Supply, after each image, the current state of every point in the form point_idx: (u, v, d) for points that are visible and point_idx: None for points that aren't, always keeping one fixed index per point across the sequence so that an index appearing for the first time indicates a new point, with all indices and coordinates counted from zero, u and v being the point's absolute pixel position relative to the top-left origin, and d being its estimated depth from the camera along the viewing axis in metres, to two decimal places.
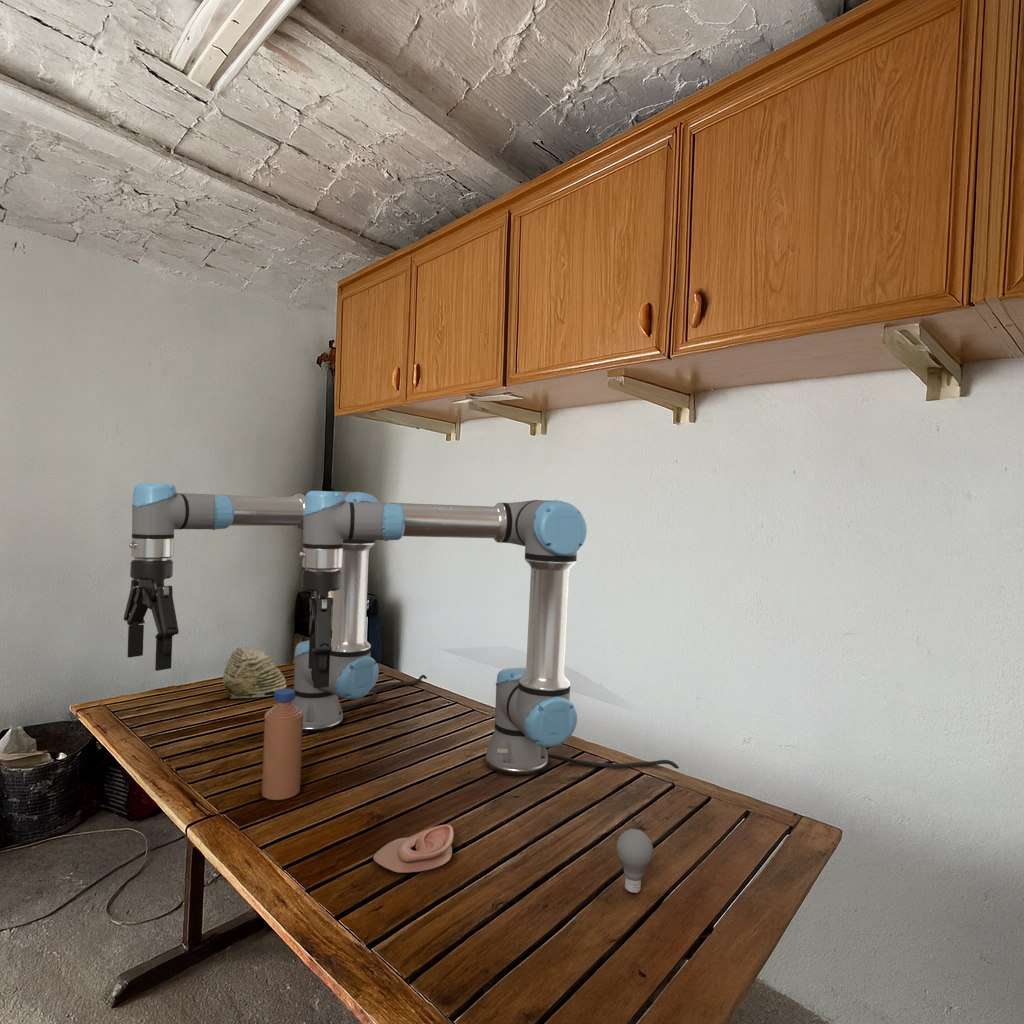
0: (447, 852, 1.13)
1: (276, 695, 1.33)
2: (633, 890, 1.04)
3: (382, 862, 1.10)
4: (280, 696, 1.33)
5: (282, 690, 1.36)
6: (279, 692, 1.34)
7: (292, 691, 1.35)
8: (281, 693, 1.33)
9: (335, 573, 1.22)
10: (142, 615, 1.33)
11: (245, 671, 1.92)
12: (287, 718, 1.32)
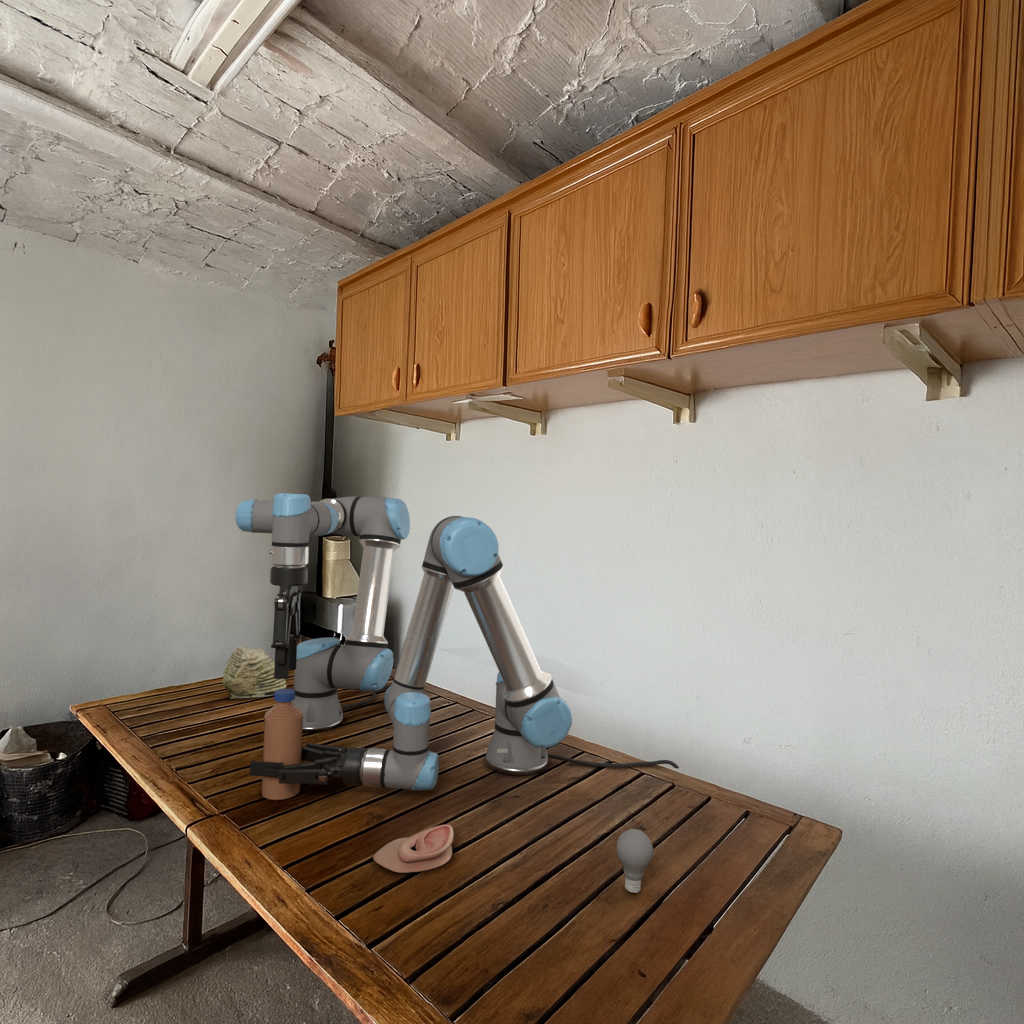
0: (447, 852, 1.13)
1: (276, 695, 1.33)
2: (633, 890, 1.04)
3: (382, 862, 1.10)
4: (280, 696, 1.33)
5: (282, 690, 1.36)
6: (279, 692, 1.34)
7: (292, 691, 1.35)
8: (281, 693, 1.33)
9: None
10: (293, 627, 1.38)
11: (245, 671, 1.92)
12: (287, 718, 1.32)
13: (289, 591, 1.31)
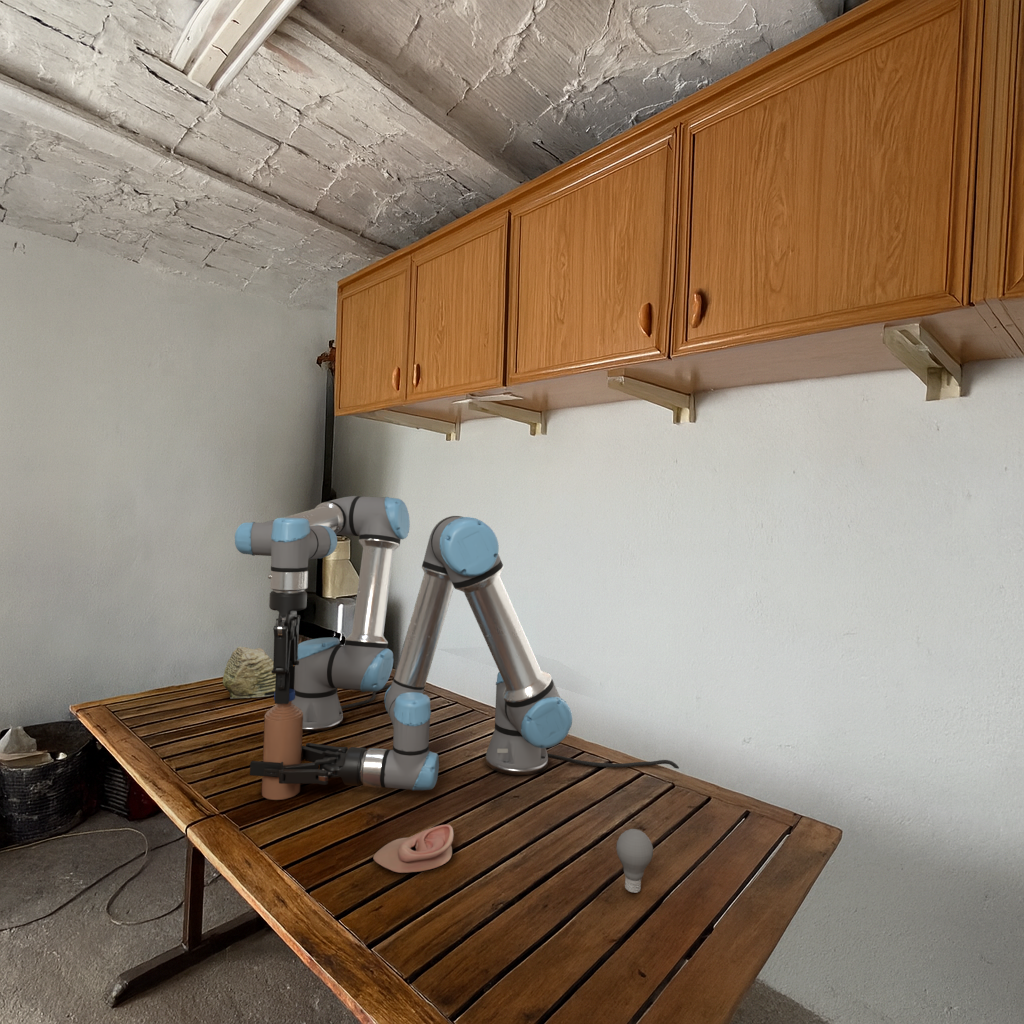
0: (447, 852, 1.13)
1: None
2: (633, 890, 1.04)
3: (382, 862, 1.10)
4: None
5: None
6: None
7: (292, 691, 1.35)
8: None
9: None
10: (292, 652, 1.37)
11: (245, 671, 1.92)
12: (287, 718, 1.32)
13: (288, 616, 1.31)
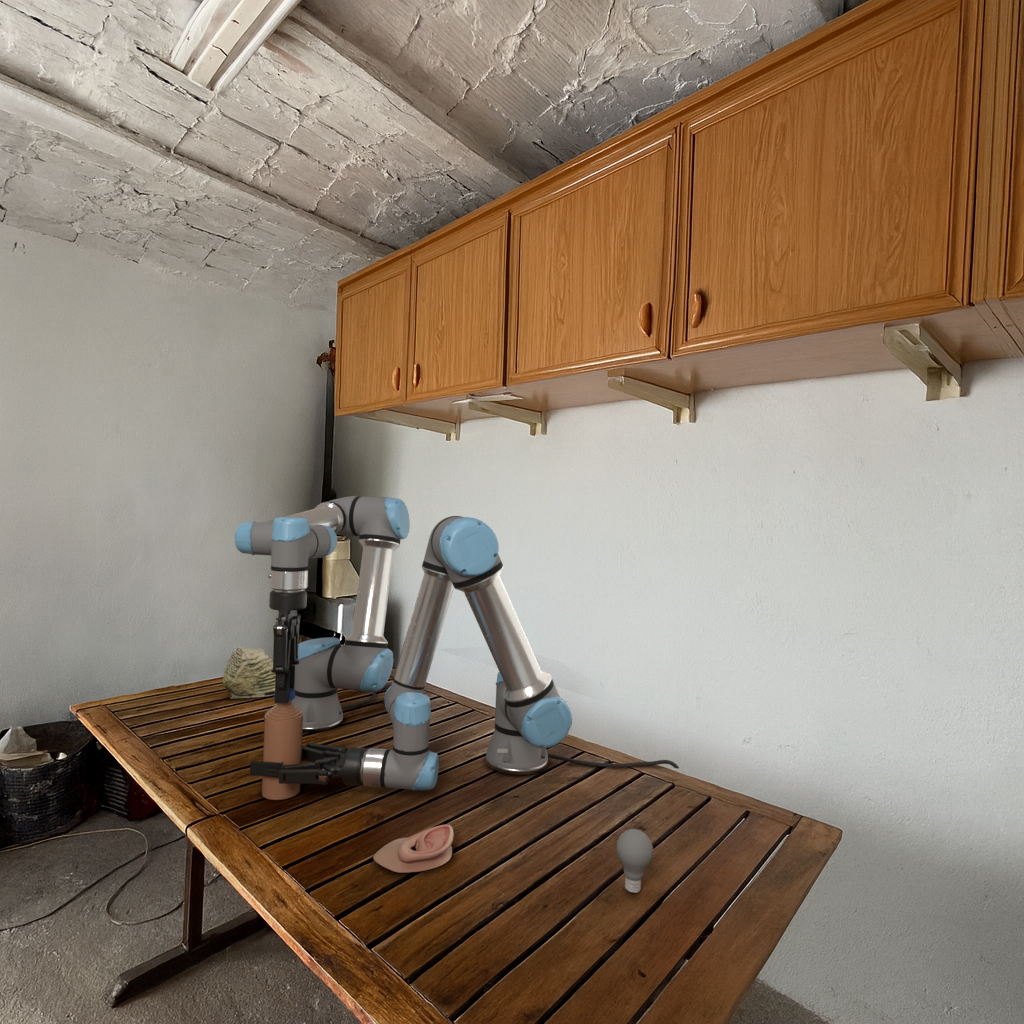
0: (447, 852, 1.13)
1: (294, 692, 1.36)
2: (633, 890, 1.04)
3: (382, 862, 1.10)
4: None
5: None
6: (290, 690, 1.35)
7: None
8: (291, 689, 1.36)
9: None
10: (292, 652, 1.37)
11: (245, 671, 1.92)
12: (287, 718, 1.32)
13: (288, 616, 1.31)
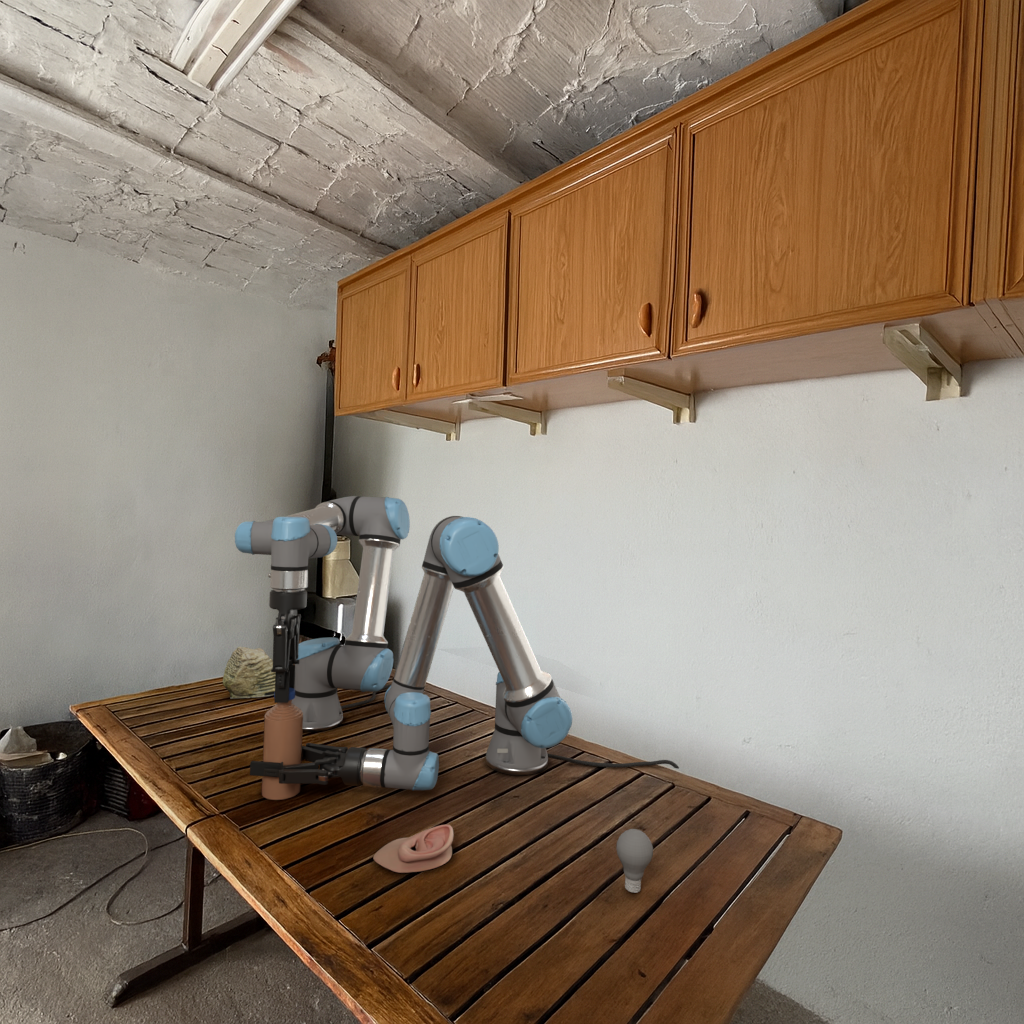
0: (447, 852, 1.13)
1: None
2: (633, 890, 1.04)
3: (382, 862, 1.10)
4: None
5: None
6: None
7: None
8: None
9: None
10: (292, 651, 1.37)
11: (245, 671, 1.92)
12: (287, 718, 1.32)
13: (288, 615, 1.31)
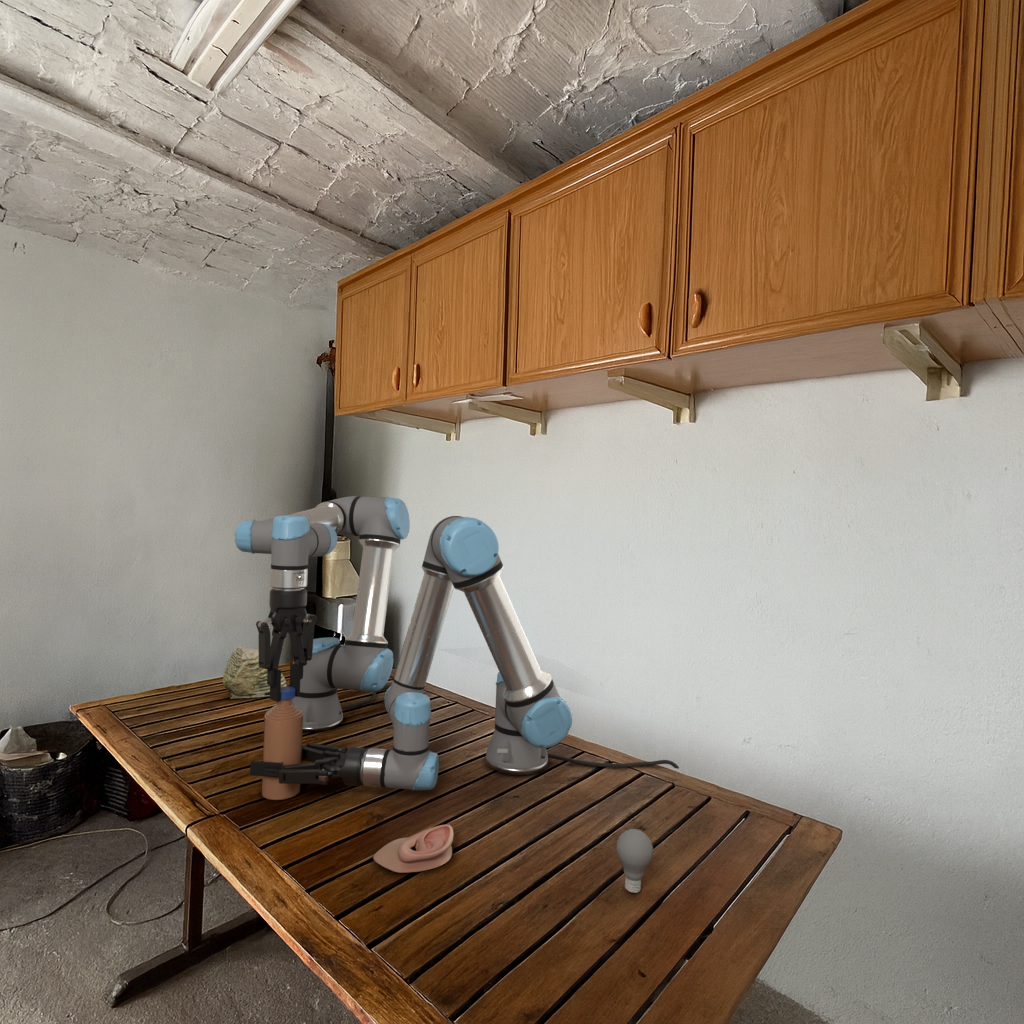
0: (447, 852, 1.13)
1: (285, 693, 1.33)
2: (633, 890, 1.04)
3: (382, 862, 1.10)
4: (289, 694, 1.34)
5: None
6: (284, 690, 1.34)
7: (291, 687, 1.36)
8: (289, 690, 1.34)
9: None
10: None
11: (245, 671, 1.92)
12: (287, 718, 1.32)
13: None
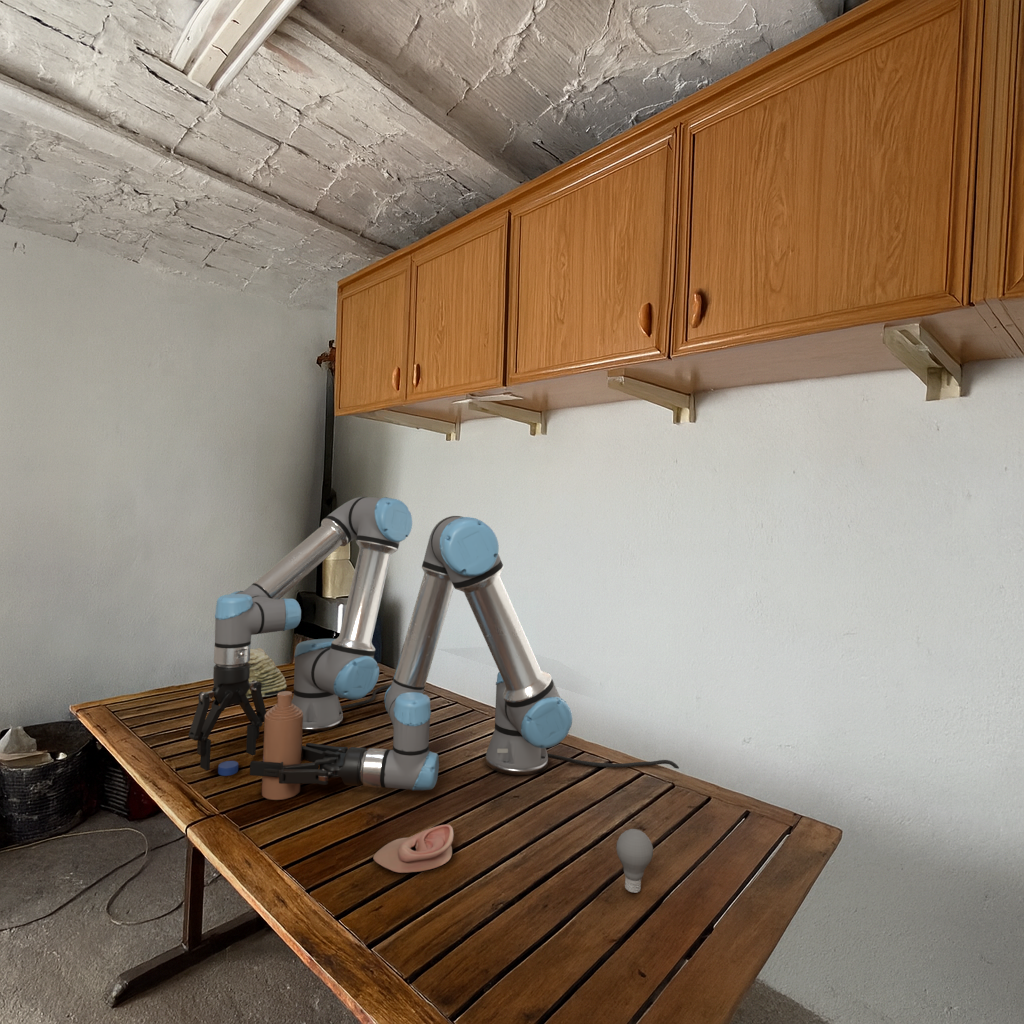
0: (447, 852, 1.13)
1: (228, 769, 1.42)
2: (633, 890, 1.04)
3: (382, 862, 1.10)
4: (232, 769, 1.42)
5: (224, 764, 1.43)
6: (227, 766, 1.42)
7: (234, 762, 1.45)
8: (231, 766, 1.43)
9: None
10: None
11: None
12: (287, 718, 1.32)
13: None
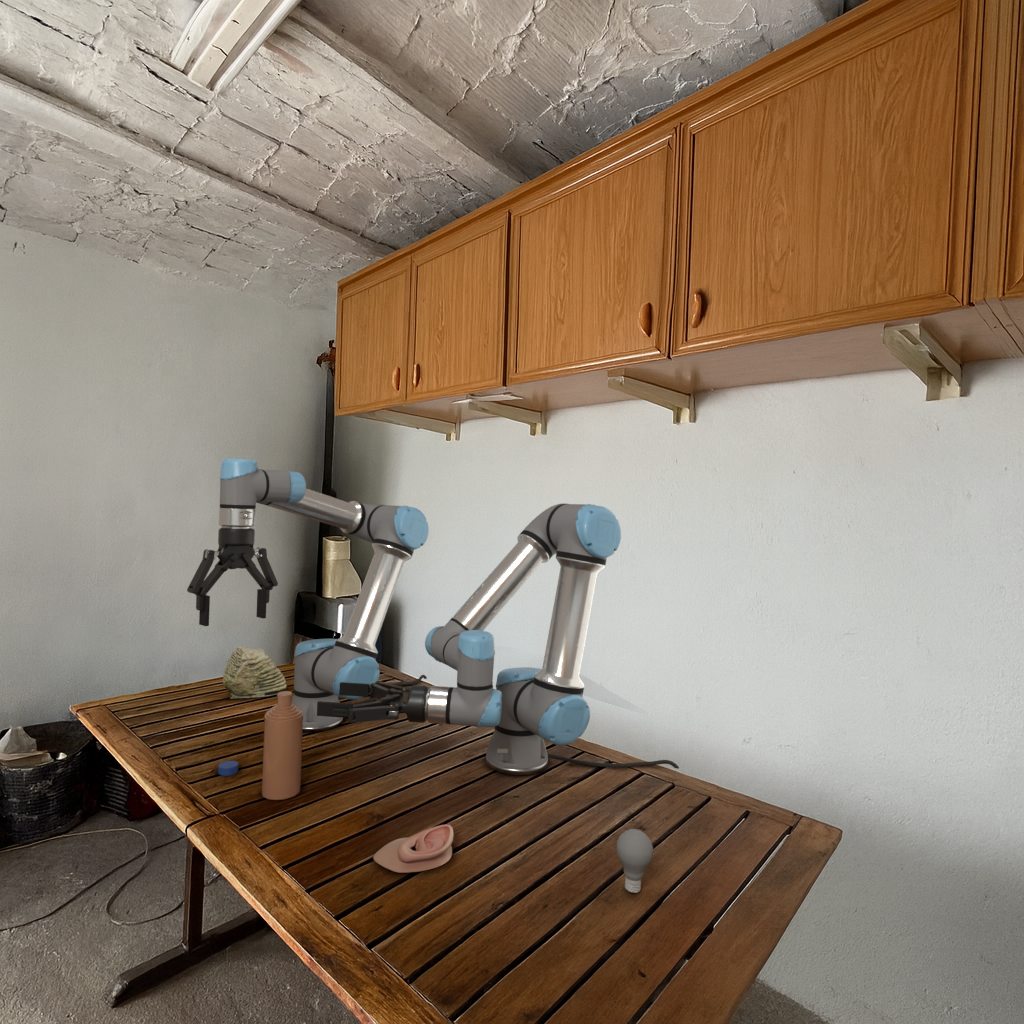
0: (447, 852, 1.13)
1: (228, 769, 1.42)
2: (633, 890, 1.04)
3: (382, 862, 1.10)
4: (232, 769, 1.42)
5: (224, 764, 1.43)
6: (227, 766, 1.42)
7: (234, 762, 1.45)
8: (231, 766, 1.43)
9: None
10: None
11: (245, 671, 1.92)
12: (287, 718, 1.32)
13: None
